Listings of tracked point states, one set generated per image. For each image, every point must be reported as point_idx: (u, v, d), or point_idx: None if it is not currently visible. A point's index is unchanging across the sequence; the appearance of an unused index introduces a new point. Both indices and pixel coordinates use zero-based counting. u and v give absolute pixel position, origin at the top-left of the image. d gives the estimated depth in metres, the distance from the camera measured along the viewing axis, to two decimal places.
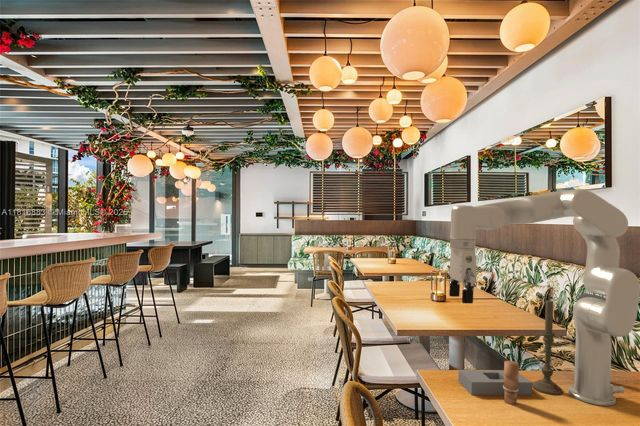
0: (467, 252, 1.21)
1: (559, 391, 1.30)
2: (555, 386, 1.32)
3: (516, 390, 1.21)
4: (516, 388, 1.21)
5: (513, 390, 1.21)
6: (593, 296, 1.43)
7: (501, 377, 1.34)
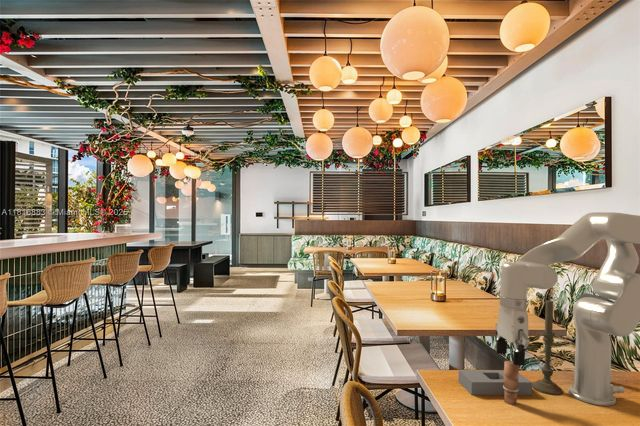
0: (519, 313, 1.19)
1: (559, 391, 1.30)
2: (555, 386, 1.32)
3: (516, 390, 1.21)
4: (516, 388, 1.21)
5: (513, 390, 1.21)
6: (593, 296, 1.43)
7: (501, 377, 1.34)
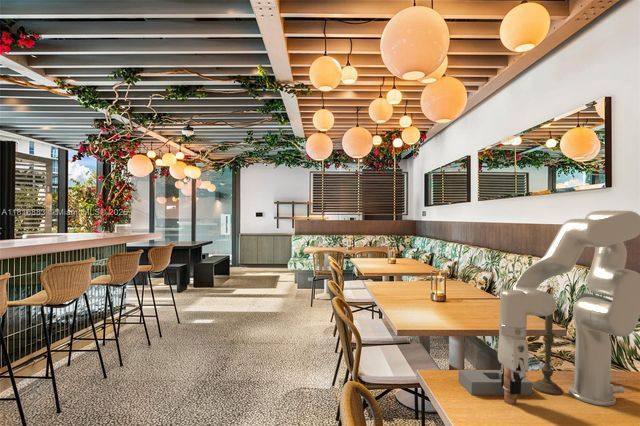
0: (519, 341, 1.19)
1: (559, 391, 1.30)
2: (555, 386, 1.32)
3: None
4: None
5: None
6: (593, 296, 1.43)
7: None
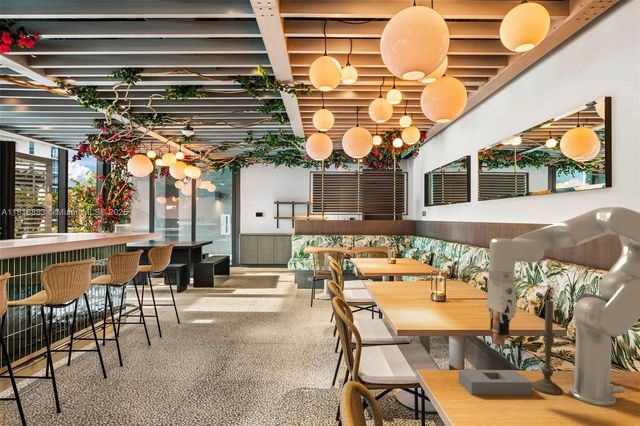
0: (507, 284, 1.26)
1: (559, 391, 1.30)
2: (555, 386, 1.32)
3: None
4: None
5: None
6: (593, 296, 1.43)
7: (501, 377, 1.34)
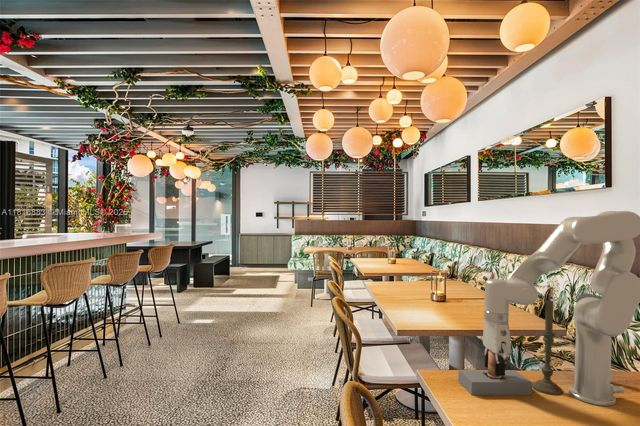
0: (502, 326, 1.29)
1: (559, 391, 1.30)
2: (555, 386, 1.32)
3: (499, 377, 1.31)
4: None
5: (496, 377, 1.31)
6: (593, 296, 1.43)
7: (501, 377, 1.34)
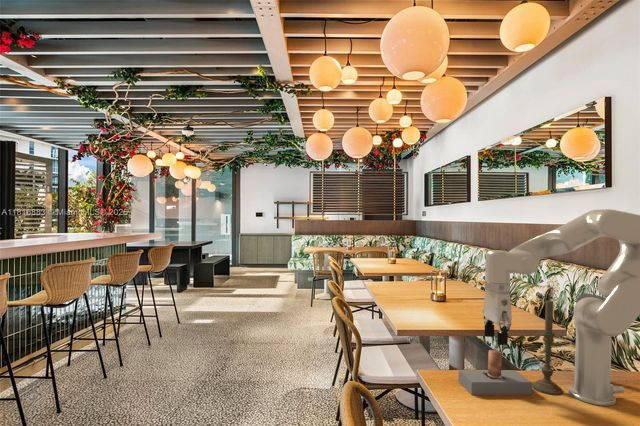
0: (503, 296, 1.29)
1: (559, 391, 1.30)
2: (555, 386, 1.32)
3: (499, 377, 1.31)
4: (499, 375, 1.31)
5: (496, 377, 1.31)
6: (593, 296, 1.43)
7: (501, 377, 1.34)
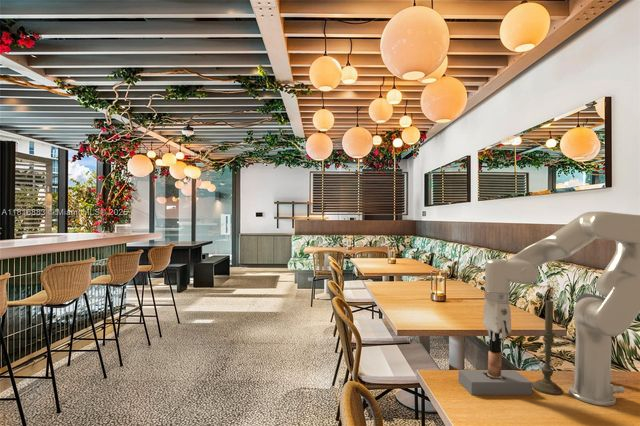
0: (502, 305, 1.29)
1: (559, 391, 1.30)
2: (555, 386, 1.32)
3: (499, 377, 1.31)
4: (499, 375, 1.31)
5: (496, 377, 1.31)
6: (593, 296, 1.43)
7: (501, 377, 1.34)
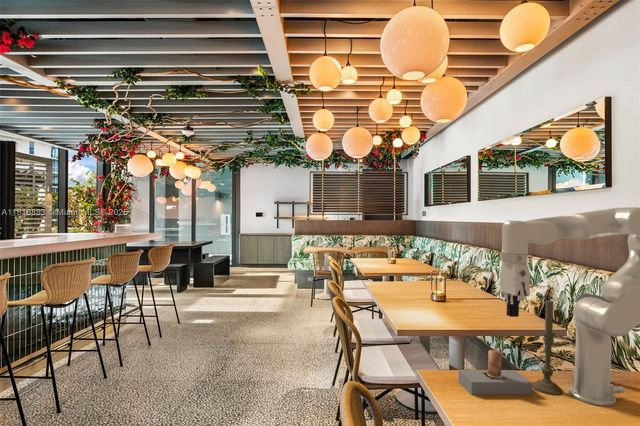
0: (521, 266, 1.25)
1: (559, 391, 1.30)
2: (555, 386, 1.32)
3: (499, 377, 1.31)
4: (499, 375, 1.31)
5: (496, 376, 1.31)
6: (593, 296, 1.43)
7: (501, 377, 1.34)
